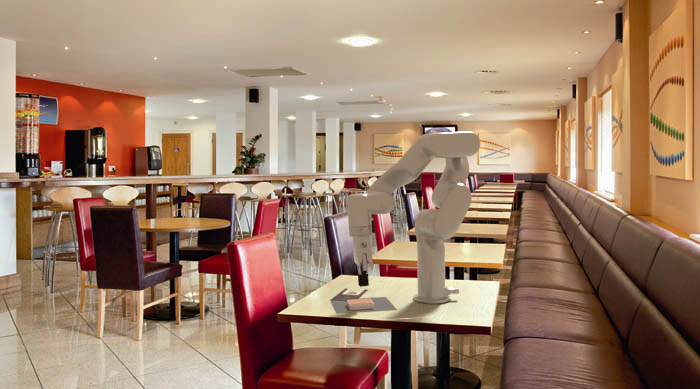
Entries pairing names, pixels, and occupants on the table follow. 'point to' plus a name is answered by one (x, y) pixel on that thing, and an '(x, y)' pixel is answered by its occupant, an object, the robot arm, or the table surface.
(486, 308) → the table surface
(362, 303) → the tile
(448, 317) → the table surface
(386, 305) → the mat
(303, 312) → the table surface
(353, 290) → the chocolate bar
